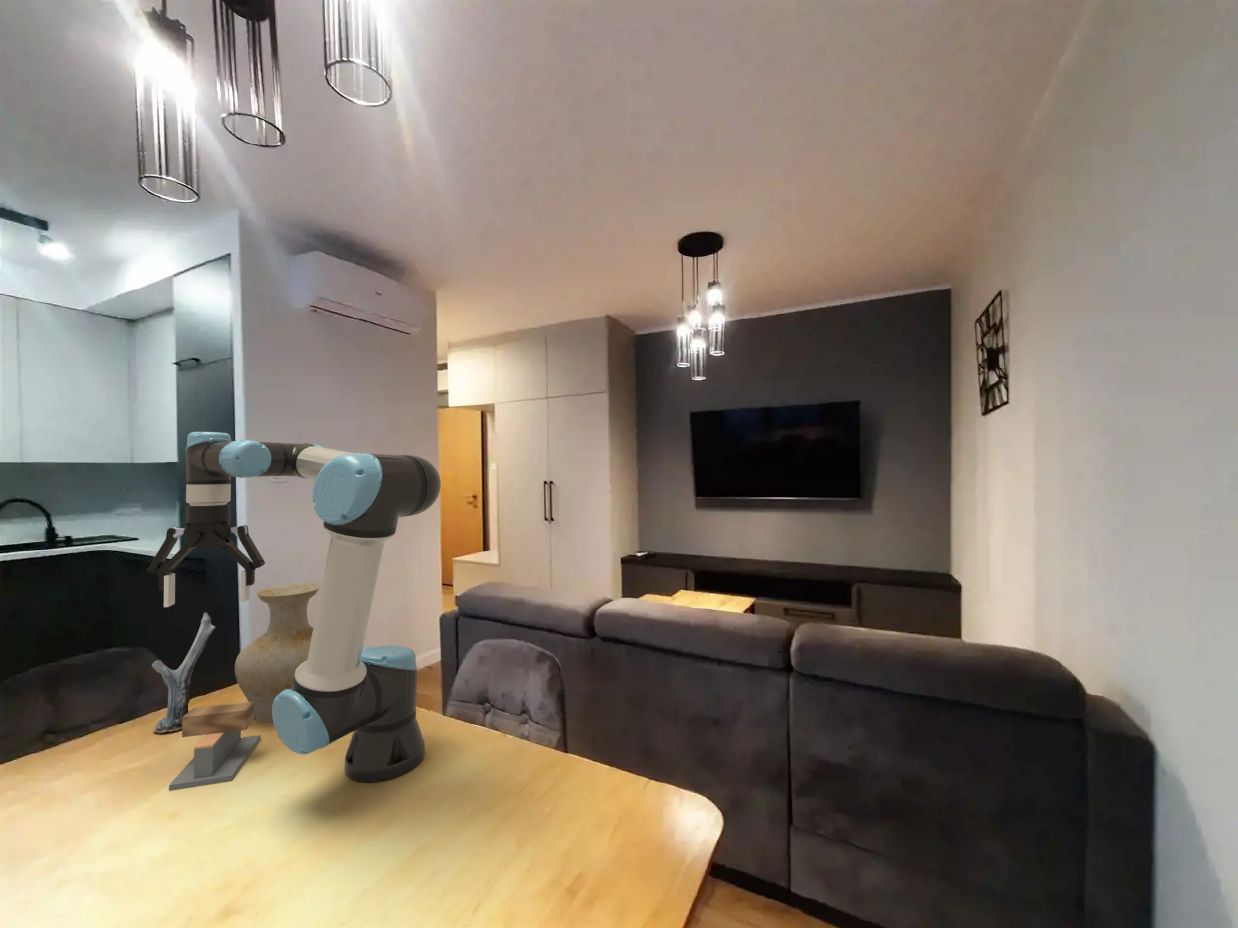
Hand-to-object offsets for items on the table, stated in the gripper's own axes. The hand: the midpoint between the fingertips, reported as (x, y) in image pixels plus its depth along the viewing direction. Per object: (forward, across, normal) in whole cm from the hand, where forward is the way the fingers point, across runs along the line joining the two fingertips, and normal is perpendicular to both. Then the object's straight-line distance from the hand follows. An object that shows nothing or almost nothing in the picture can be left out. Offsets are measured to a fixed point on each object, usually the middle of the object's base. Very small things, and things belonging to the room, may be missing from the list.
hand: (208, 603), depth 111 cm
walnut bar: (+25, -4, +6) cm, 26 cm away
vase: (+32, -11, -17) cm, 38 cm away
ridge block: (+32, -4, +6) cm, 33 cm away
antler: (+32, +11, -17) cm, 38 cm away
